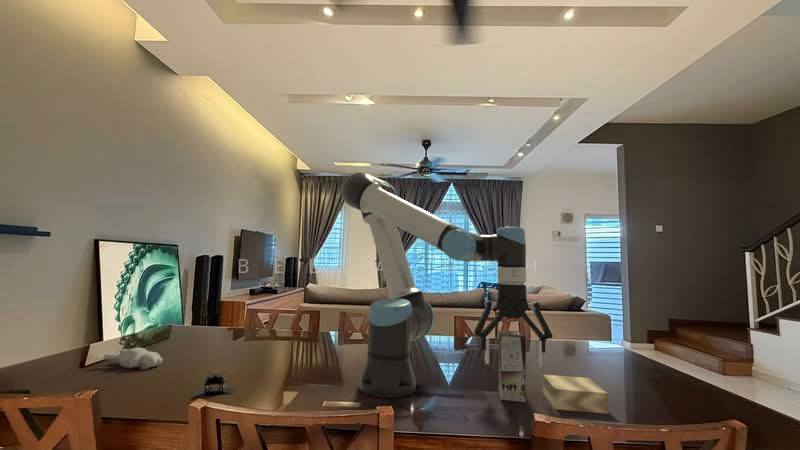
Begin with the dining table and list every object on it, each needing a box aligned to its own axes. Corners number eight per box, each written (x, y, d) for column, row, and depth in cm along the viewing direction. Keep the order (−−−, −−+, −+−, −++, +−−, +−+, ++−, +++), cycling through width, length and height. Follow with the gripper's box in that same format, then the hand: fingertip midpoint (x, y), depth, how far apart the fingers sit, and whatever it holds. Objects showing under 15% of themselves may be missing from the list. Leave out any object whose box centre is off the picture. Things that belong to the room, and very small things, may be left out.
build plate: (182, 401, 87) (184, 381, 87) (190, 390, 94) (191, 372, 94) (239, 397, 91) (241, 378, 91) (242, 387, 98) (243, 369, 98)
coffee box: (526, 403, 92) (526, 337, 94) (500, 400, 93) (500, 335, 95) (522, 390, 101) (522, 330, 103) (497, 388, 102) (498, 329, 104)
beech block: (555, 410, 89) (554, 388, 89) (542, 393, 100) (542, 374, 101) (608, 415, 87) (607, 393, 87) (589, 397, 99) (589, 378, 99)
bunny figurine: (146, 358, 106) (101, 348, 108) (142, 376, 106) (97, 366, 108) (170, 350, 116) (128, 342, 117) (167, 367, 115) (124, 358, 117)
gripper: (466, 283, 97) (466, 365, 95) (563, 285, 95) (566, 370, 93) (464, 281, 105) (464, 358, 103) (554, 284, 103) (556, 362, 100)
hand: (512, 364), depth 98 cm, fingers open, 13 cm apart
